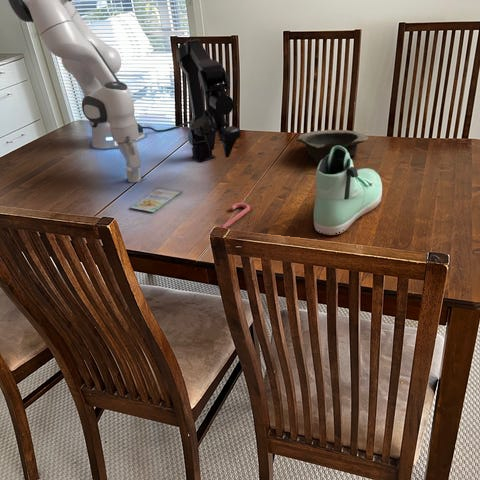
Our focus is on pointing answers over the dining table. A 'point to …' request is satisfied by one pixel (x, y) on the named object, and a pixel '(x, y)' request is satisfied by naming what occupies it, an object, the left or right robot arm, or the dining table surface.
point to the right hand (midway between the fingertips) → (219, 153)
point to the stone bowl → (331, 142)
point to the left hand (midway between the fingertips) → (132, 171)
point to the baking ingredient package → (155, 200)
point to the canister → (130, 176)
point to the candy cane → (239, 215)
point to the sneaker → (343, 192)
